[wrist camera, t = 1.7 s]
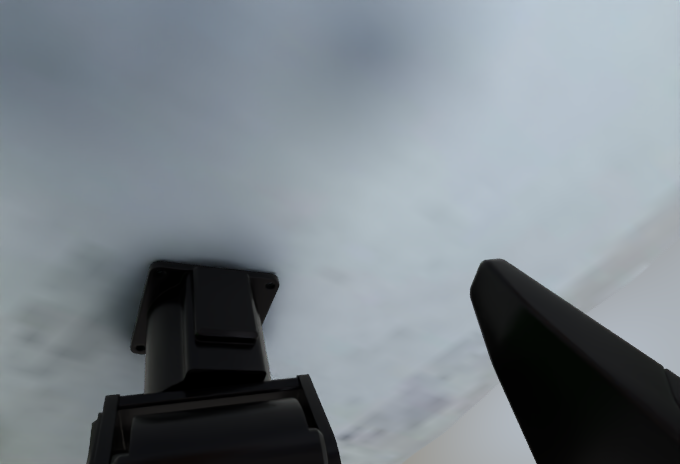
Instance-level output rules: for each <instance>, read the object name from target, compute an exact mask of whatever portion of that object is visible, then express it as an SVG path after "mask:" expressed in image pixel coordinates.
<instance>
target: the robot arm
mask: <svg viewBox="0 0 680 464" xmlns="http://www.w3.org/2000/svg"><path fill="white" fill-rule="evenodd" d="M157 271H164V272H161V273H159V272H157ZM267 283H271V284H267ZM278 288H279V280H278V277H277V276H276V275H274V274H269V273H260V272H251V271H243V270H234V269H225V268H217V267H208V266H199V265H190V264H182V263H173V262H164V261H157V262H154V263H153V264H151V265H150V267H149V271H148V275H147V279H146V283H145V287H144V291H143V295H142V299H141V303H140V307H139V311H138V315H137V319H136V323H135V327H134V331H133V335H132V338H131V345H130V350H131V351H132V352H133V353H136V354H146V356H145V385H144V394H137V395H127V396H120V394H116V395H107V396H106V397H105V402H104V407H103V412H102V413H99V414H98V419H97V420H96V421H94V422H93V423H92V429H91V437H90V446H89V454H88V459H87V463H86V464H341V460H340V455H339V450H338V447H337V443H336V440H335V437H334V434H333V431H332V429H331V427H330V424H329V422H328V419H327V417H326V415H325V412H324V410H323V407H322V405H321V403H320V400H319V398H318V395H317V393H316V390H315V388H314V386H313V383H312V381H311V378H310V376H309V374H306V375H297V377H296V378H287V379H277V380H271V377H270V371H269V365H268V359H267V354H266V348H265V342H264V337H263V331H262V324H263V321H264V319H265V317H266V315H267V312H268V310H269V308H270V306H271V304H272V301H273V299H274V297H275V295H276V292H277V290H278ZM470 298H471V301H472V304H473V308H474V311H475V314H476V317H477V320H478V323H479V326H480V329H481V332H482V335H483V338H484V341H485V344H486V347H487V350H488V354H489V356H490V359H491V362H492V365H493V367H494V369H495V372H496V374H497V376H498V379H499V381H500V383H501V385H502V387H503V390H504V392H505V394H506V396H507V398H508V401H509V403H510V405H511V408H512V410H513V412H514V414H515V416H516V419H517V421H518V423H519V425H520V428H521V429H522V432H523V434H524V436H525V439H526V441H527V443H528V445H529V448H530V450H531V452H532V454H533V456H534V459H535V461H536V463H537V464H680V377H678V376H677V375H676V374H674V373H673V372H671V371H669V370H668V369H664V367H663V366H662V365H661V364H659V363H657V362H656V361H655V360H653V359H652V358H650V357H648V356H647V355H646V354H644V353H643V352H641V351H640V350H638V349H637V348H635V347H634V346H632V345H631V344H629V343H628V342H626V341H625V340H623V339H622V338H620V337H619V336H617V335H616V334H614V333H612V332H611V331H610V330H608V329H607V328H605V327H604V326H602V325H601V324H599V323H598V322H596V321H595V320H593V319H592V318H590V317H589V316H587V315H586V314H584V313H583V312H581V311H580V310H578V309H577V308H575V307H574V306H573V305H571V304H570V303H568V302H567V301H565V300H564V299H562V298H561V297H559V296H558V295H556V294H555V293H553V292H552V291H550V290H549V289H547V288H546V287H544V286H543V285H541V284H540V283H538V282H537V281H535V280H534V279H532V278H531V277H529V276H528V275H526V274H525V273H523V272H522V271H520V270H519V269H517V268H516V267H514V266H513V265H511V264H510V263H508V262H507V261H505V260H503V259H490V260H484V261H483V262H481V264H480V265H479V268H478V270H477V273H476V275H475V278H474V280H473V282H472V285H471V288H470Z"/></svg>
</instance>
